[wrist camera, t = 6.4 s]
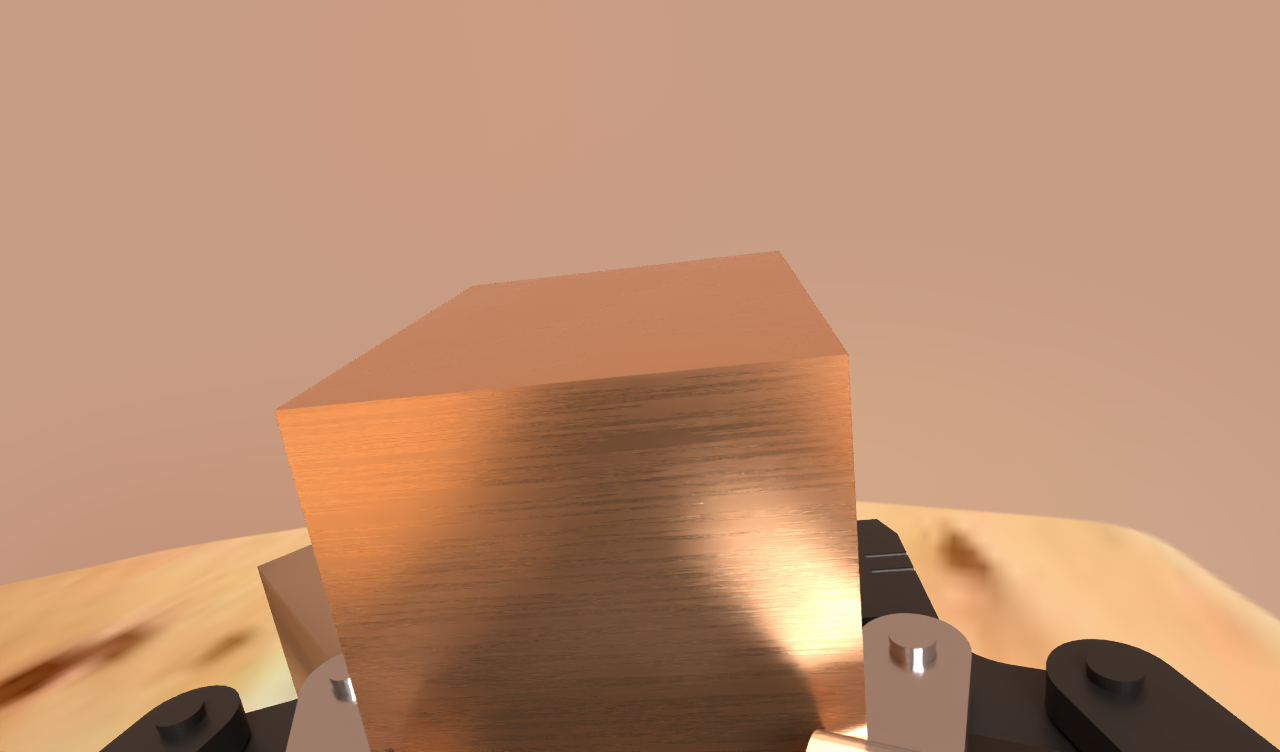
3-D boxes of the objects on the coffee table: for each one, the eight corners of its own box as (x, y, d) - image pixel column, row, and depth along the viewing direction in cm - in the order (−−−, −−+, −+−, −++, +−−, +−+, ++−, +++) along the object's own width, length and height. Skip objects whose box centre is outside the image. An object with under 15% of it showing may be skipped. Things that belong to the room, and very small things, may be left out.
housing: (497, 1199, 10) (273, 410, 7) (573, 810, 16) (472, 286, 12) (890, 1211, 9) (848, 355, 6) (819, 803, 15) (779, 251, 12)
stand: (417, 884, 21) (367, 708, 19) (299, 701, 29) (257, 566, 28) (696, 680, 28) (678, 535, 26) (535, 578, 36) (513, 462, 34)
